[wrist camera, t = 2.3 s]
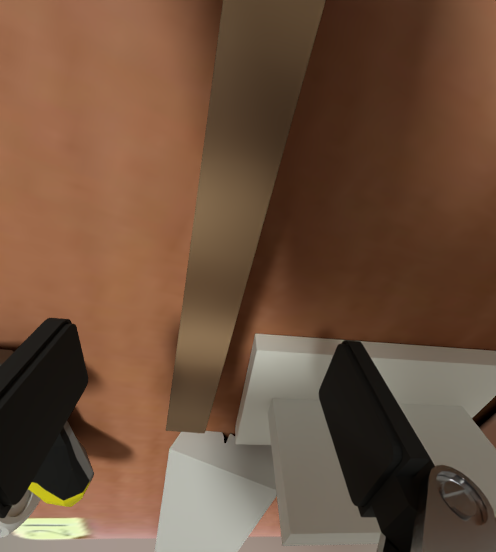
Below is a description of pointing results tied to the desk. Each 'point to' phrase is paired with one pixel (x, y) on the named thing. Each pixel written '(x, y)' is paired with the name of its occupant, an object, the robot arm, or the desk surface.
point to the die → (18, 513)
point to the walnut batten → (236, 183)
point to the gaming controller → (61, 467)
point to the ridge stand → (317, 440)
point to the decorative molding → (213, 493)
